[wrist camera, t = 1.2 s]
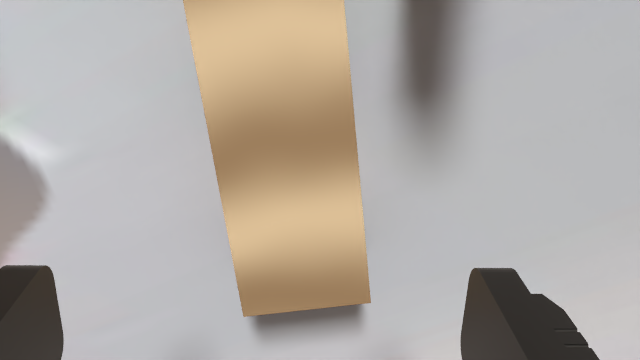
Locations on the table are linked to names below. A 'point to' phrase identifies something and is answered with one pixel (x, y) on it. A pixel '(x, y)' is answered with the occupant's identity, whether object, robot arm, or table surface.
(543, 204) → the table surface
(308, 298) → the shelf board
